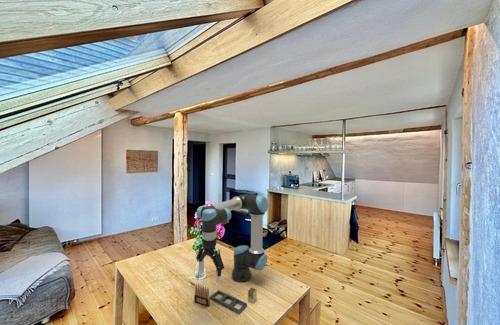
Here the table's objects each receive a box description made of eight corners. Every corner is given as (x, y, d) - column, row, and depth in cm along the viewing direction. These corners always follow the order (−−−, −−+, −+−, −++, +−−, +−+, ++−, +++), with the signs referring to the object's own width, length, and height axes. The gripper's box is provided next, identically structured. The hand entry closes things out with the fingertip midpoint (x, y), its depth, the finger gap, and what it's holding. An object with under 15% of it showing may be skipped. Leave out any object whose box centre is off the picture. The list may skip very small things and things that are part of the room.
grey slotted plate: (218, 292, 139) (218, 289, 139) (247, 306, 125) (247, 303, 125) (210, 299, 132) (210, 296, 132) (239, 314, 119) (239, 311, 119)
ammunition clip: (210, 305, 127) (209, 286, 127) (208, 307, 125) (208, 288, 125) (196, 300, 131) (195, 282, 131) (194, 302, 129) (194, 284, 129)
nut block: (251, 298, 133) (251, 287, 133) (256, 300, 131) (256, 289, 131) (248, 301, 130) (248, 290, 130) (253, 304, 128) (253, 293, 128)
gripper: (189, 235, 115) (190, 272, 115) (220, 246, 99) (220, 289, 100) (200, 231, 121) (200, 266, 121) (230, 241, 105) (231, 282, 105)
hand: (209, 277), depth 110 cm, fingers open, 13 cm apart
